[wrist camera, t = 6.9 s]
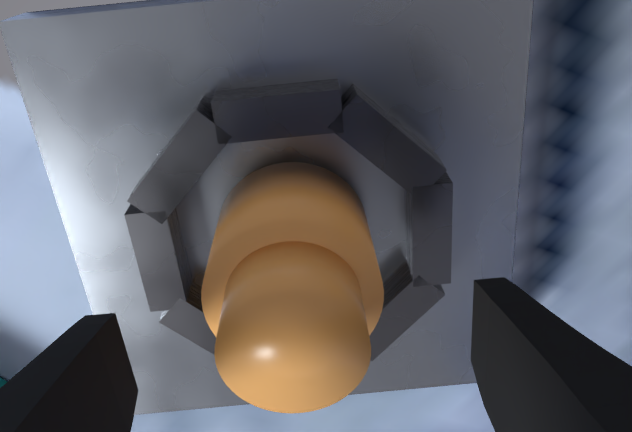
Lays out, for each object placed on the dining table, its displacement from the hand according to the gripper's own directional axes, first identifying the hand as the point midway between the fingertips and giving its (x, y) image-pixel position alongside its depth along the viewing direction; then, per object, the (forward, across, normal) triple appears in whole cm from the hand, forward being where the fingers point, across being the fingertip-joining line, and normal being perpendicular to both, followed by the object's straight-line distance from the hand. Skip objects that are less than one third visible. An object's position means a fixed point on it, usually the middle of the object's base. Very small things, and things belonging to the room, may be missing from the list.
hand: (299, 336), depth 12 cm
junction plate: (+6, 0, 0) cm, 6 cm away
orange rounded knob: (+4, 0, 0) cm, 4 cm away
